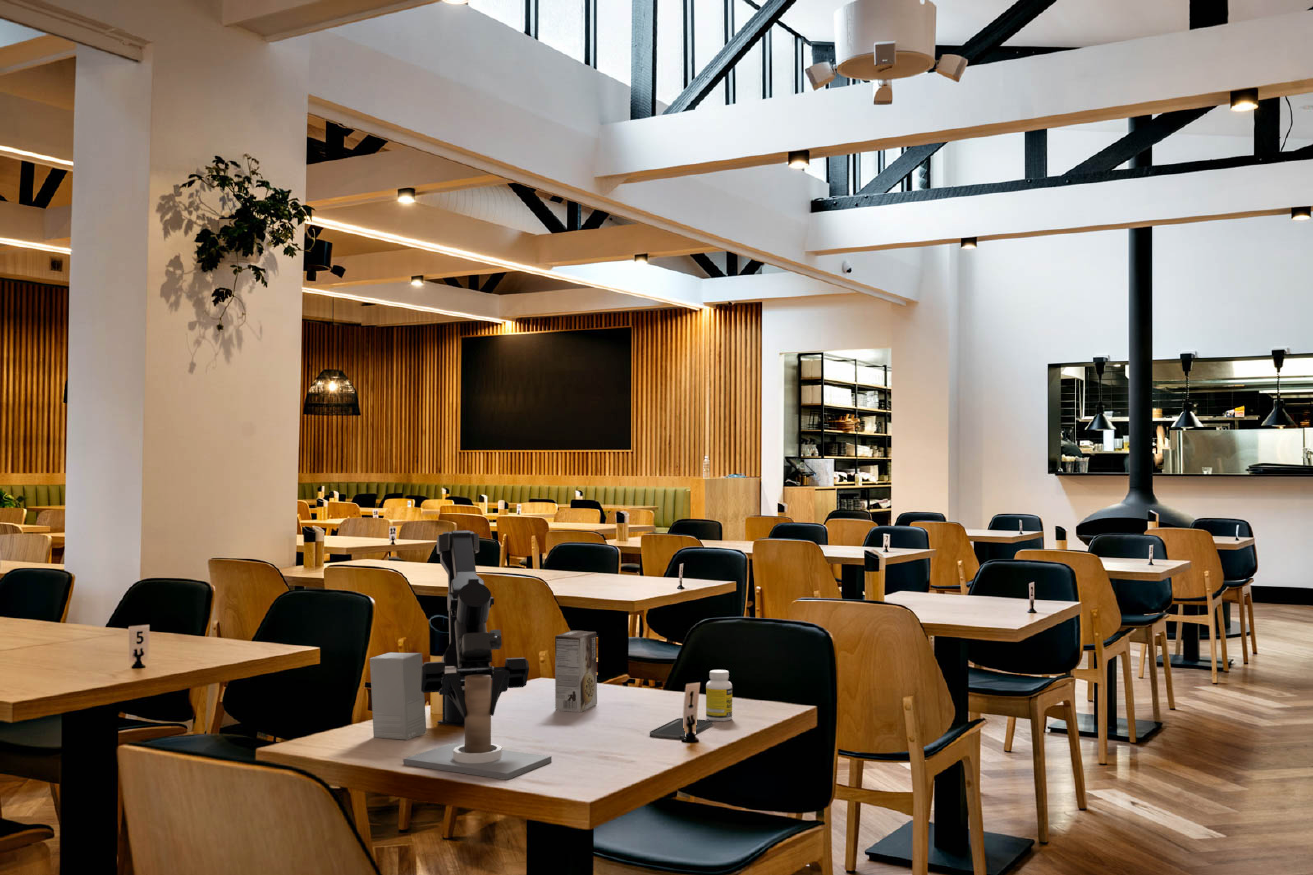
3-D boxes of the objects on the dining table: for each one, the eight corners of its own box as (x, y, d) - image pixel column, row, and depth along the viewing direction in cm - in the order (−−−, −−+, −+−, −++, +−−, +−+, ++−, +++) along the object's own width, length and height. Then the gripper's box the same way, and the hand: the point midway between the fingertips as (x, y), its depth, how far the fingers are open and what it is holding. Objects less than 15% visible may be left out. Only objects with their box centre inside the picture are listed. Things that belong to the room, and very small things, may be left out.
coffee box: (571, 702, 241) (571, 630, 242) (597, 704, 239) (597, 631, 240) (553, 710, 233) (553, 635, 234) (581, 712, 231) (581, 636, 232)
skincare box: (427, 734, 211) (427, 652, 212) (403, 742, 204) (404, 657, 205) (392, 730, 214) (392, 650, 215) (368, 738, 208) (368, 655, 209)
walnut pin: (459, 751, 188) (459, 676, 189) (482, 747, 191) (482, 673, 192) (473, 756, 185) (473, 679, 185) (495, 752, 188) (495, 676, 188)
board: (403, 764, 187) (403, 749, 187) (451, 748, 199) (451, 734, 199) (507, 779, 177) (507, 764, 177) (551, 761, 188) (551, 747, 188)
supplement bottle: (730, 722, 220) (730, 673, 220) (704, 721, 221) (703, 672, 221) (734, 716, 225) (733, 669, 226) (708, 716, 226) (707, 668, 227)
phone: (647, 732, 208) (679, 717, 221) (647, 738, 207) (679, 723, 221) (685, 736, 204) (714, 720, 218) (685, 742, 204) (714, 726, 218)
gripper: (421, 616, 190) (425, 690, 179) (527, 612, 195) (537, 684, 184) (419, 655, 197) (422, 729, 186) (521, 650, 203) (530, 722, 191)
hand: (478, 715), depth 187 cm, fingers closed on walnut pin, 4 cm apart
